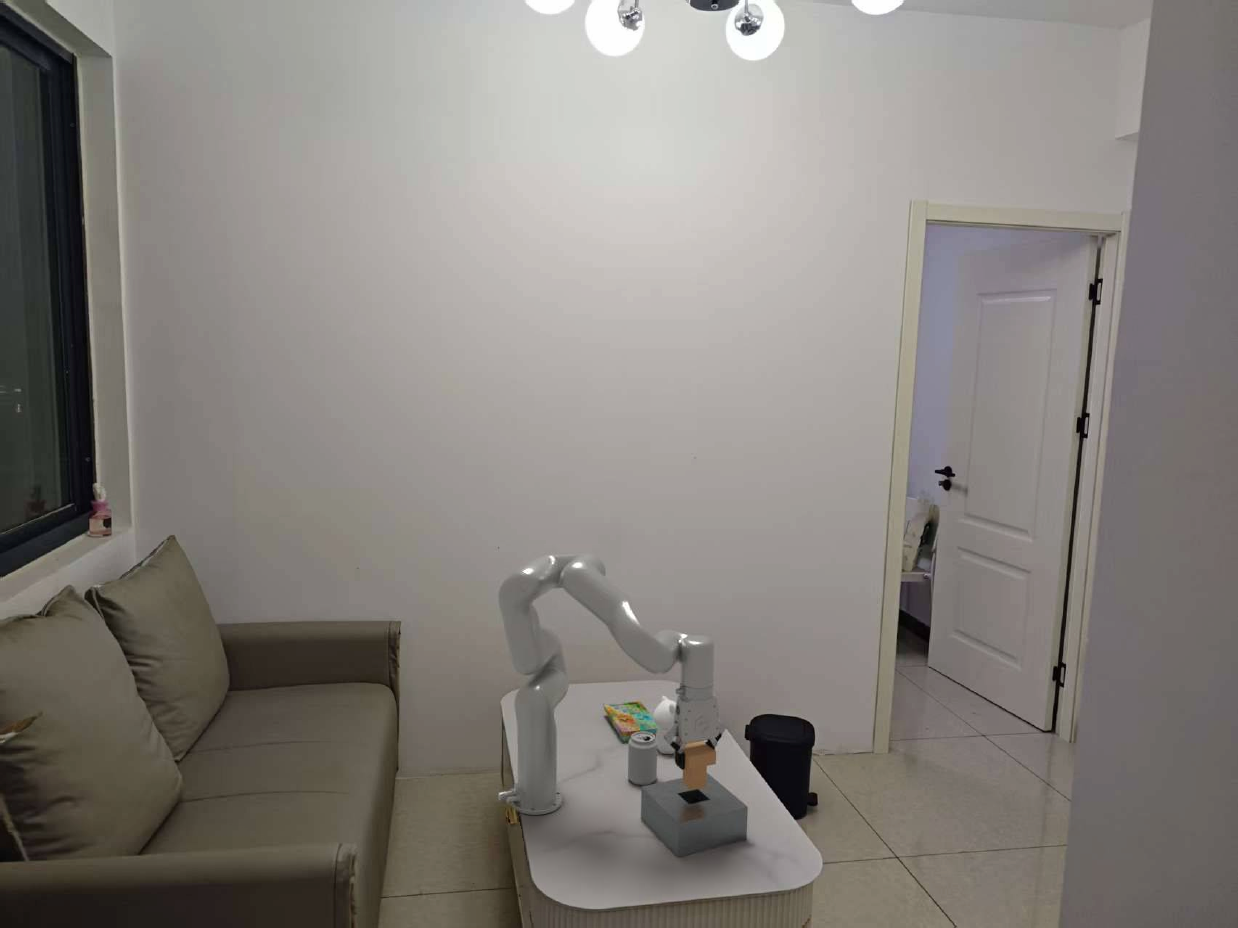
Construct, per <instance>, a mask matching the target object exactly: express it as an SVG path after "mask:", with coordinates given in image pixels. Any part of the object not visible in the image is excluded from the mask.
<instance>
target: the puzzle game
mask: <svg viewBox="0 0 1238 928" xmlns="http://www.w3.org/2000/svg"><path fill="white" fill-rule="evenodd" d="M603 710H604V712H605V714H606V715H607V718H608V719H609V721H610V722H611V723H612V726H613V727H614V729H615V730H616V732H617V733H618V735H619V737H620V738H621V739H622V741H623V742H624V743H625V742H628V743H629V740H630V739H631V735H632V734H634V733H636V732H649V733H652V734H653V735H654V736H655V739H656V732H657V730H658V728H659V727H658V726H657V725H656V724H655V723H654V721H653V715H651V713H650V712H649V710H648V709H647V708H646V706H645V705H644V704H643V702H641V701H640V700H638V701H631V702H619V703H609V704H608V703H606V704H603Z"/></svg>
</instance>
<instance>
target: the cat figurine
mask: <svg viewBox="0 0 1238 928" xmlns="http://www.w3.org/2000/svg"><path fill="white" fill-rule="evenodd" d="M660 700H661V701H660V703H658V705H656V706H657V707H656V708H655V710H654V712H653V715H652V717H653V721H654V723H655V724H656V725H657V726H658V727H659V728H658V730H657V732H656V738H655V739H656V741H657V751H659V752H660V753H661V754H664V755H674V748H673V747H672V746H670V745H669V743H668V742H667V741H666V740H665V739H664V735H665V734H666V733H667V732H668V731H669V730H670V729H671V728H672V727H673V724H674V713H675V706H676V701H674V700H671V699H669V698H668V697H667V696H665V695H661V699H660ZM676 738H677V737H676V736H674V737H673V740H674V742H675V741H676ZM681 742H682V741H681ZM680 744H681V743H680Z"/></svg>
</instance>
